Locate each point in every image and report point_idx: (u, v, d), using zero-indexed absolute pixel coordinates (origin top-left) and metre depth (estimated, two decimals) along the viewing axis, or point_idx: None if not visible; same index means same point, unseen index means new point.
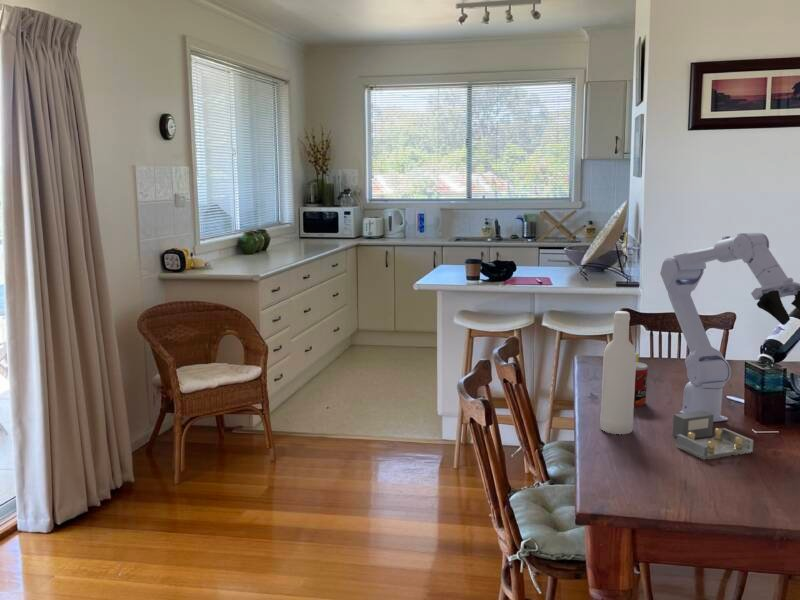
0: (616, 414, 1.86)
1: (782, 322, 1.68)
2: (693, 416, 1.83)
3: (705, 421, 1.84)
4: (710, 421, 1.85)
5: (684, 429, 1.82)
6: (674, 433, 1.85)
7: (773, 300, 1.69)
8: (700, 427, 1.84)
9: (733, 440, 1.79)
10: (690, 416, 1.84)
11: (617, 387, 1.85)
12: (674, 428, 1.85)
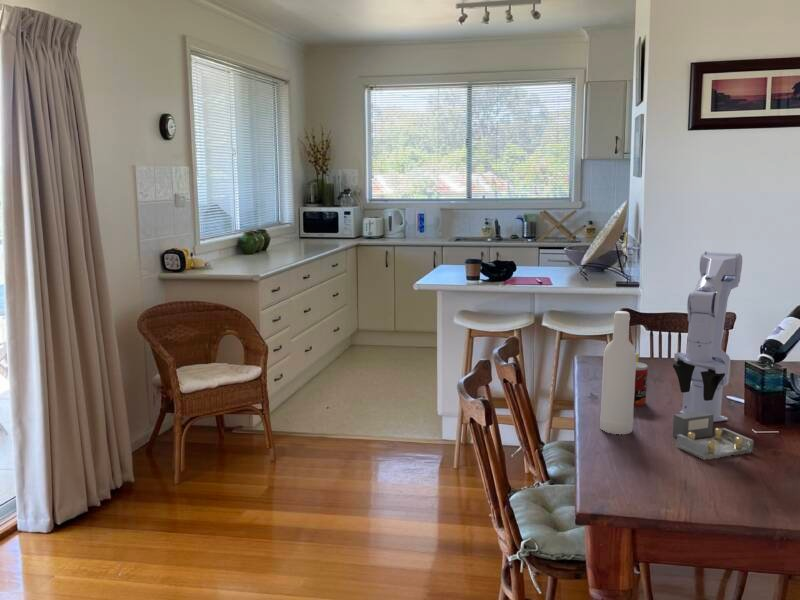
0: (616, 414, 1.86)
1: None
2: (693, 416, 1.83)
3: (705, 421, 1.84)
4: (710, 421, 1.85)
5: (684, 429, 1.82)
6: (674, 433, 1.85)
7: None
8: (700, 427, 1.84)
9: (733, 440, 1.79)
10: (690, 416, 1.84)
11: (617, 387, 1.85)
12: (674, 428, 1.85)
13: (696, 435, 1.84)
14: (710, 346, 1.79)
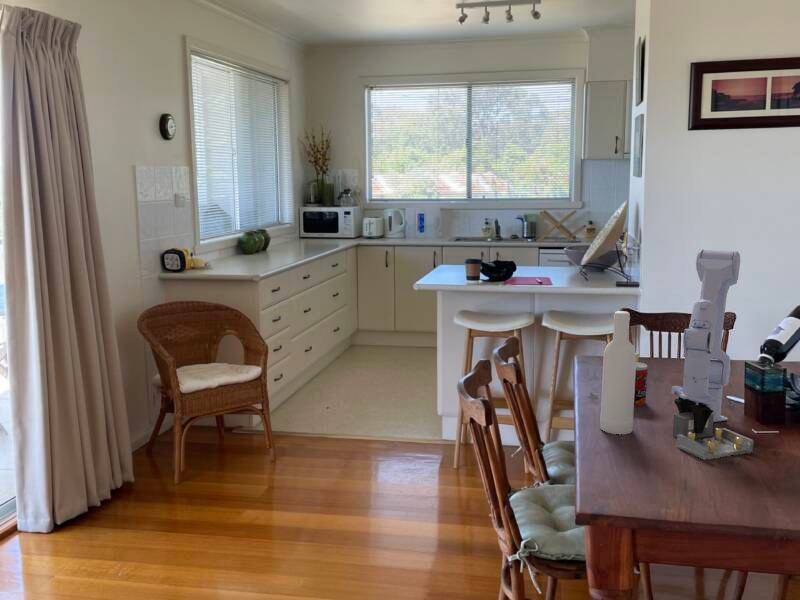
0: (616, 414, 1.86)
1: None
2: (693, 416, 1.83)
3: None
4: (710, 420, 1.85)
5: (684, 429, 1.82)
6: (674, 433, 1.85)
7: None
8: None
9: (733, 440, 1.79)
10: (690, 416, 1.84)
11: (617, 387, 1.85)
12: (674, 428, 1.85)
13: (696, 435, 1.84)
14: (706, 382, 1.81)
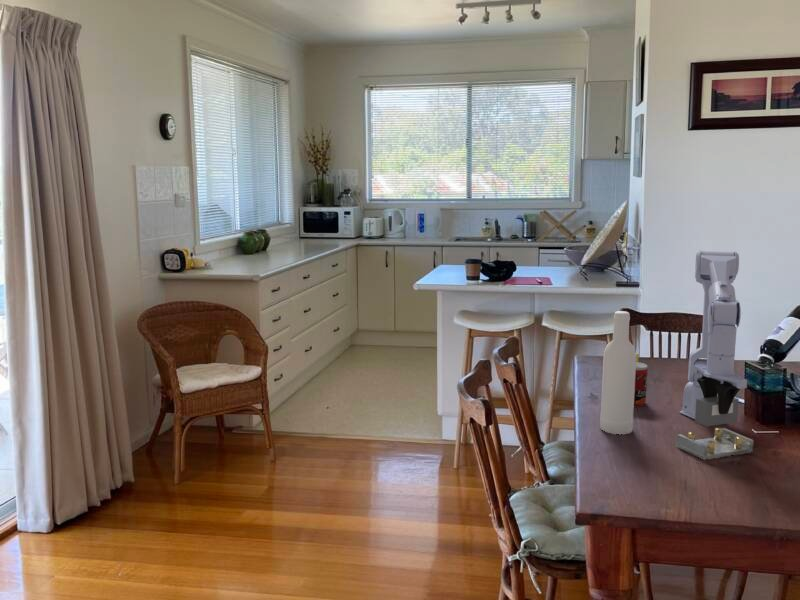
0: (616, 414, 1.86)
1: None
2: (717, 401, 1.73)
3: None
4: (735, 405, 1.74)
5: (707, 414, 1.72)
6: (697, 418, 1.75)
7: None
8: None
9: (733, 440, 1.79)
10: (714, 400, 1.73)
11: (617, 387, 1.85)
12: (697, 413, 1.75)
13: (720, 420, 1.73)
14: (731, 359, 1.70)
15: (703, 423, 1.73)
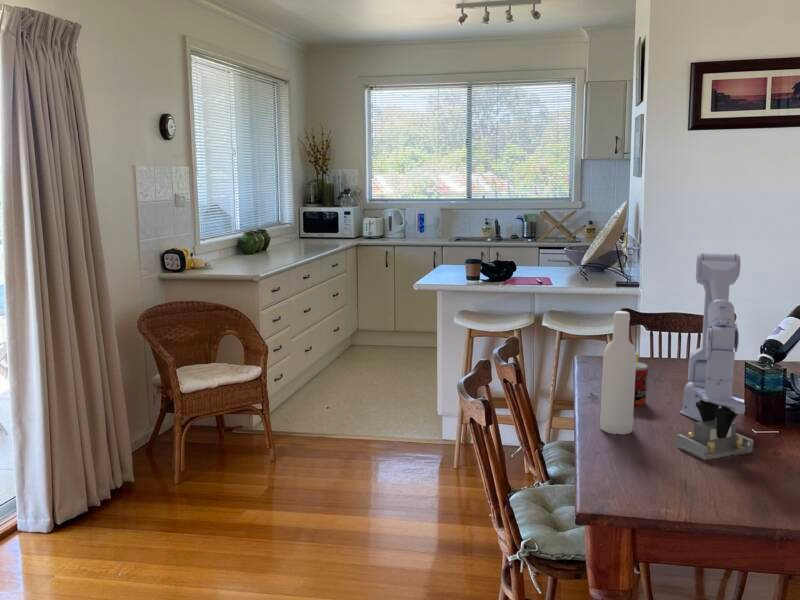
0: (616, 414, 1.86)
1: None
2: (715, 425, 1.74)
3: None
4: (733, 429, 1.75)
5: (705, 439, 1.73)
6: None
7: None
8: None
9: None
10: (712, 424, 1.74)
11: (617, 387, 1.85)
12: (695, 437, 1.75)
13: (718, 444, 1.74)
14: (729, 384, 1.71)
15: None
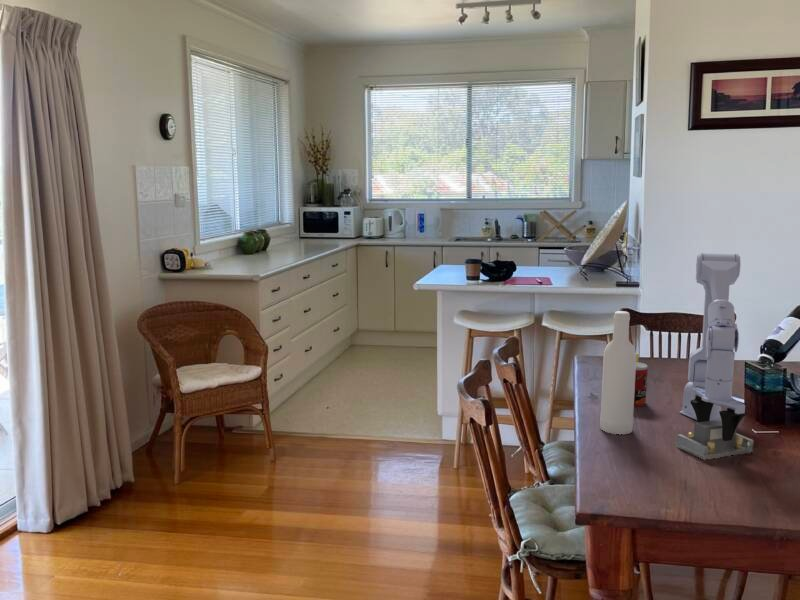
0: (616, 414, 1.86)
1: None
2: (715, 425, 1.74)
3: None
4: None
5: (705, 439, 1.73)
6: None
7: None
8: None
9: None
10: (712, 424, 1.74)
11: (617, 387, 1.85)
12: (695, 437, 1.75)
13: (718, 444, 1.74)
14: (729, 384, 1.71)
15: None
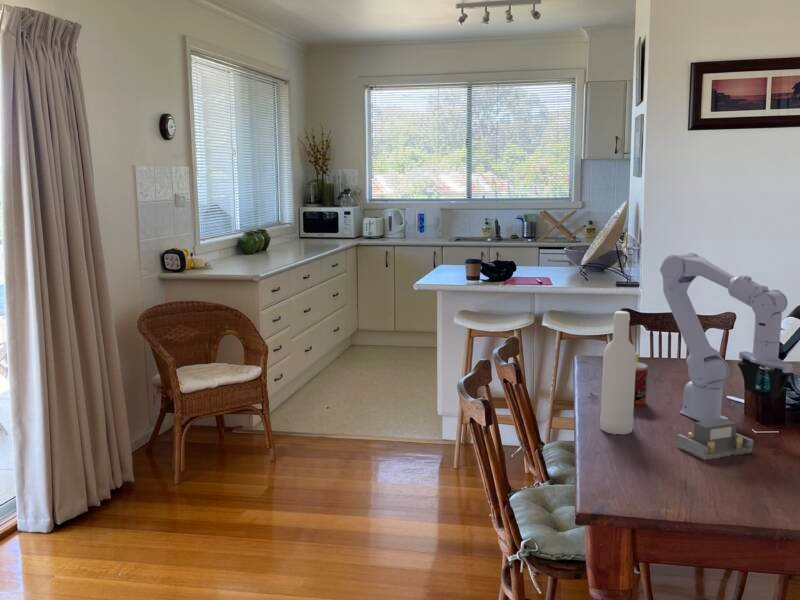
0: (616, 414, 1.86)
1: None
2: (715, 425, 1.74)
3: (728, 430, 1.75)
4: (733, 429, 1.75)
5: (705, 439, 1.73)
6: None
7: None
8: (722, 436, 1.74)
9: None
10: (712, 424, 1.74)
11: (617, 387, 1.85)
12: (695, 437, 1.75)
13: (718, 444, 1.74)
14: (777, 345, 1.82)
15: None
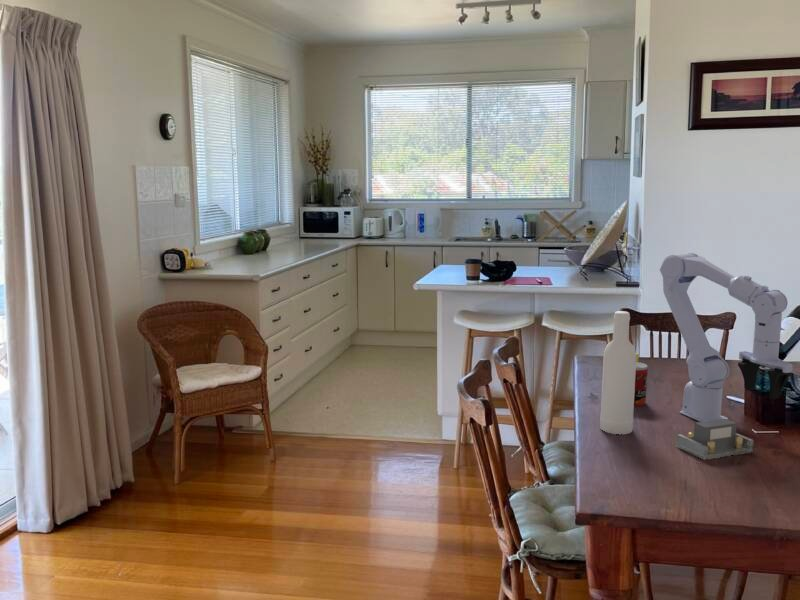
0: (616, 414, 1.86)
1: None
2: (715, 425, 1.74)
3: (728, 430, 1.75)
4: (733, 429, 1.75)
5: (705, 439, 1.73)
6: None
7: None
8: (722, 436, 1.74)
9: None
10: (712, 424, 1.74)
11: (617, 387, 1.85)
12: (695, 437, 1.75)
13: (718, 444, 1.74)
14: (777, 345, 1.82)
15: None
